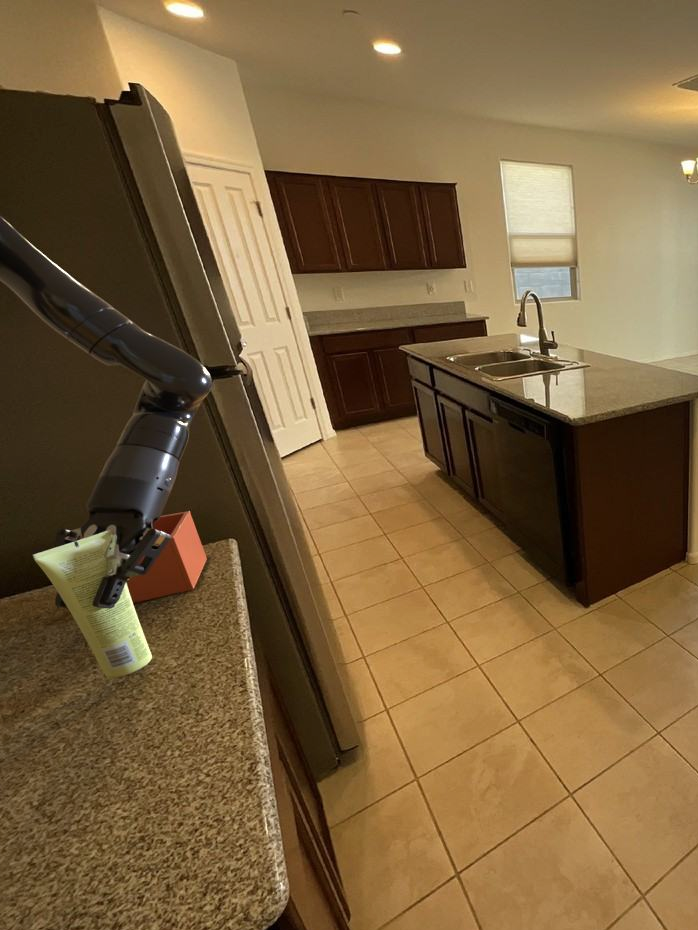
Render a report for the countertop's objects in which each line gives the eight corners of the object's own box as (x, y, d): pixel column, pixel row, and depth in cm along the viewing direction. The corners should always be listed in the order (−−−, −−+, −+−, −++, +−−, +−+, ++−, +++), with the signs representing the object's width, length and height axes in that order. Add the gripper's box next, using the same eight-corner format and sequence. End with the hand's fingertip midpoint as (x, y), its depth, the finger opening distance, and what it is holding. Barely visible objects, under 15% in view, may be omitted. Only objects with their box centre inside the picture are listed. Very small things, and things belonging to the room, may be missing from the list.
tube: (119, 655, 74) (62, 534, 67) (162, 647, 76) (111, 528, 68) (95, 683, 69) (31, 555, 62) (142, 674, 71) (85, 548, 63)
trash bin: (100, 612, 87) (74, 556, 83) (124, 578, 97) (101, 526, 93) (194, 591, 92) (173, 537, 88) (207, 560, 102) (189, 510, 98)
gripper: (58, 473, 70) (-5, 602, 63) (163, 473, 70) (110, 602, 63) (111, 494, 77) (59, 612, 70) (206, 494, 77) (163, 612, 70)
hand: (84, 606), depth 66 cm, fingers closed on tube, 4 cm apart
